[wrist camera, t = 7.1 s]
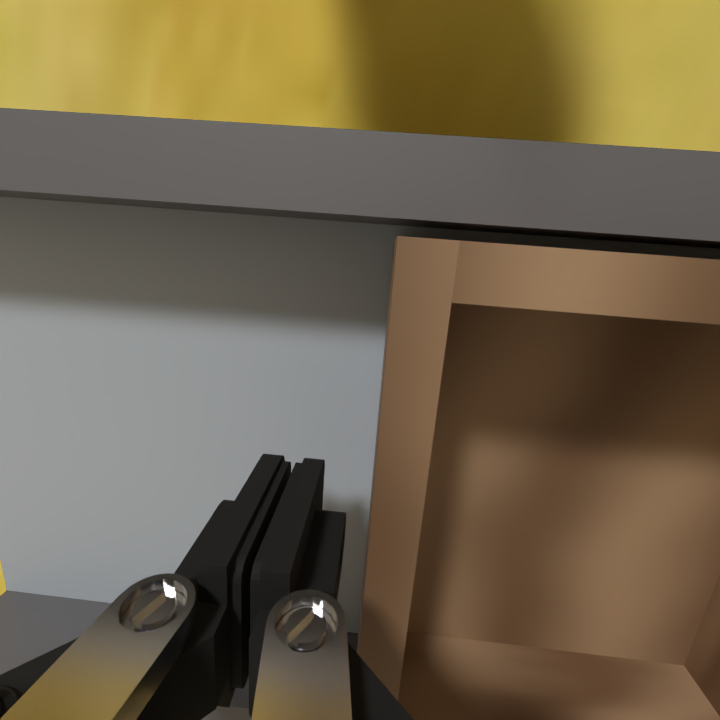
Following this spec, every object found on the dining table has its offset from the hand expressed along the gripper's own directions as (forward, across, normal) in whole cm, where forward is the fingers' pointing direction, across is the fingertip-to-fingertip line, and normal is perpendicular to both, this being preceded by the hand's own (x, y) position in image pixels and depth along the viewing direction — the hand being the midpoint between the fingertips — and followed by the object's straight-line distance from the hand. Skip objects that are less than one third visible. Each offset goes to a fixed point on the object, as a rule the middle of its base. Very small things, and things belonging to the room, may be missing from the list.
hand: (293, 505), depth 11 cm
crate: (+2, -8, 0) cm, 8 cm away
